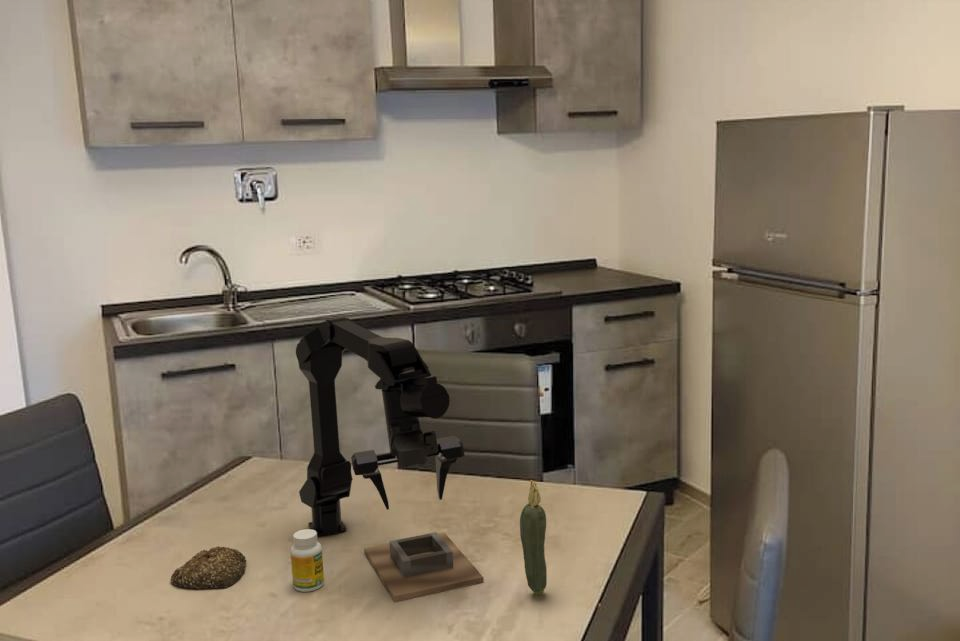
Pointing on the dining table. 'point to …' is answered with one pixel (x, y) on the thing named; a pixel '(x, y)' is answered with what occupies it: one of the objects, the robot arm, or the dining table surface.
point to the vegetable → (534, 541)
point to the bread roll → (211, 569)
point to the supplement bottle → (307, 561)
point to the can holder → (421, 566)
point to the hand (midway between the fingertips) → (414, 504)
